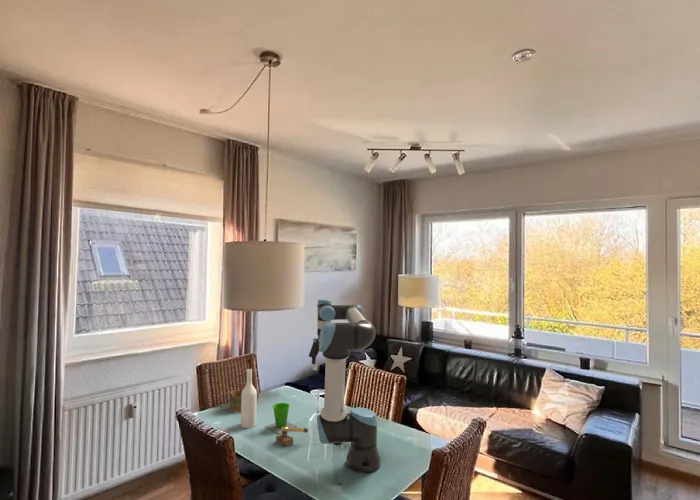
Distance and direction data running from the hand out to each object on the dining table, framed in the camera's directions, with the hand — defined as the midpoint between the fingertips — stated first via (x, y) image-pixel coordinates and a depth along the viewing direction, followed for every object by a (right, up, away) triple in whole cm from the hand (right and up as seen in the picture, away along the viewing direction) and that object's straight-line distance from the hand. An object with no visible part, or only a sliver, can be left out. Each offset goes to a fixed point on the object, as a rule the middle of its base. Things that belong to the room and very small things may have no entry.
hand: (323, 367), depth 211 cm
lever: (-13, -26, -18) cm, 35 cm away
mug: (-49, -32, +22) cm, 63 cm away
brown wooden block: (-18, -31, -19) cm, 41 cm away
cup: (-23, -31, -2) cm, 39 cm away
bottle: (-41, -32, 0) cm, 52 cm away
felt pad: (-23, -32, -2) cm, 39 cm away
